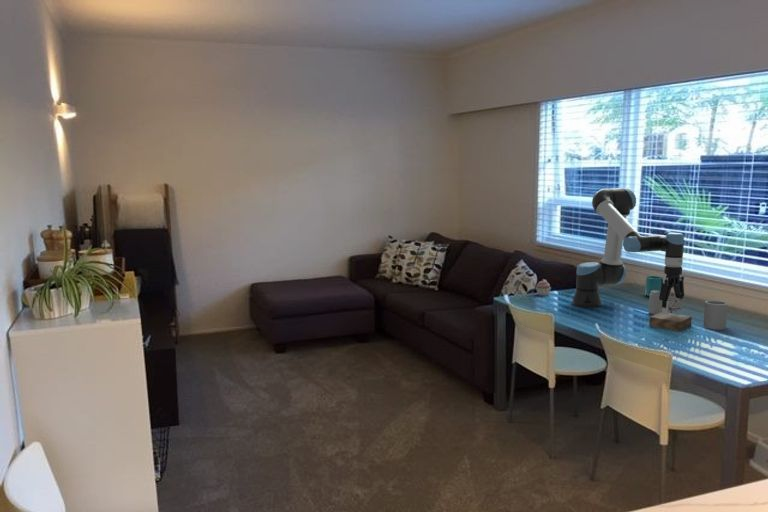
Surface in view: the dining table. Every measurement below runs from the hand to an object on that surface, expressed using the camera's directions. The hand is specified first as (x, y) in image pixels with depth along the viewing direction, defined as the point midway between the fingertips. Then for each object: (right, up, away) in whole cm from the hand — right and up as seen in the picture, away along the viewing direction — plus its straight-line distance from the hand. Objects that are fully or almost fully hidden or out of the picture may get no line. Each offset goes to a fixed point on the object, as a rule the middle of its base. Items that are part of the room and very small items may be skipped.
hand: (670, 312), depth 283 cm
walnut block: (0, -7, +1) cm, 7 cm away
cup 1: (+23, +3, +65) cm, 69 cm away
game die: (0, -1, 0) cm, 1 cm away
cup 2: (+19, -7, -3) cm, 21 cm away
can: (+4, -3, +24) cm, 24 cm away
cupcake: (-42, +3, +72) cm, 83 cm away
